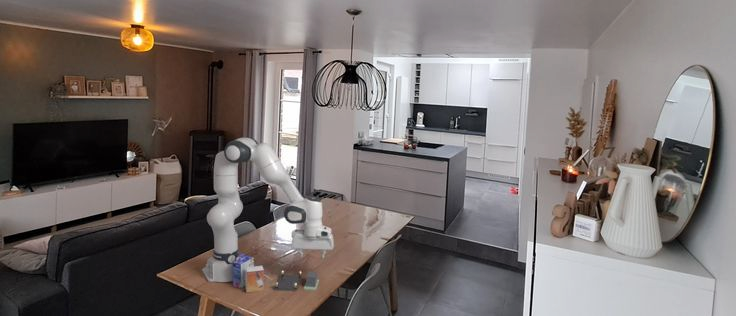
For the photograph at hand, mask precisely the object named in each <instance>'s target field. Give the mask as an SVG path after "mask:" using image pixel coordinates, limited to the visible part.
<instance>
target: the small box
mask: <svg viewBox="0 0 736 316" xmlns="http://www.w3.org/2000/svg"><path fill="white" fill-rule="evenodd" d="M264 277H265V270H264V267H263V265H257V266H255V265H254V267H246V279H245V286H244V287H245V291H246V293H247V294H249V293H253V292H255V293H256V292H263V291H265V289H264V288H265V287H264V286H265V285H264V284H265V282H264V281H265V278H264Z"/></svg>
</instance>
